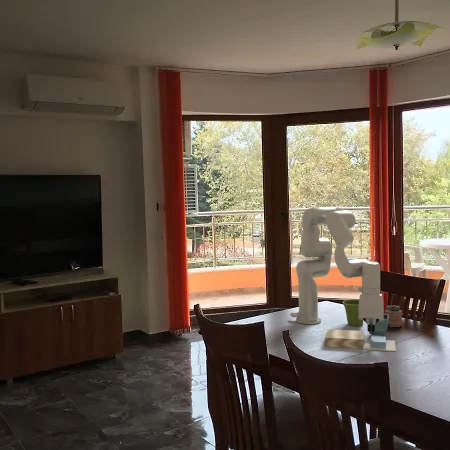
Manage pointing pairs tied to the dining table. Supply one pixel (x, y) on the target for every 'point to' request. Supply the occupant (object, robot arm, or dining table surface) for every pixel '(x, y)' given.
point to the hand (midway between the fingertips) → (371, 333)
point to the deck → (344, 339)
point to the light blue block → (378, 341)
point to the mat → (389, 347)
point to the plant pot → (352, 312)
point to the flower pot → (380, 326)
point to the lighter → (394, 316)
